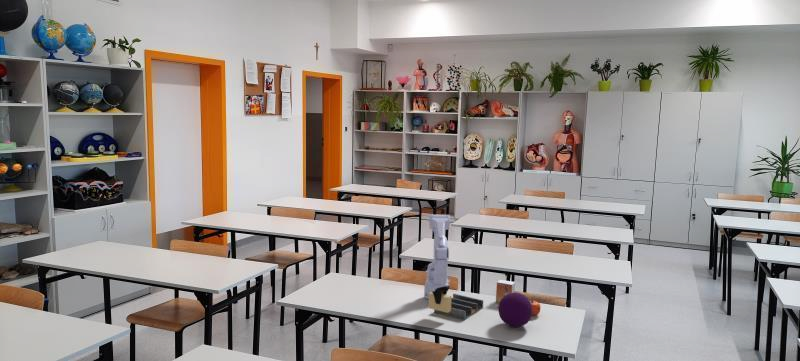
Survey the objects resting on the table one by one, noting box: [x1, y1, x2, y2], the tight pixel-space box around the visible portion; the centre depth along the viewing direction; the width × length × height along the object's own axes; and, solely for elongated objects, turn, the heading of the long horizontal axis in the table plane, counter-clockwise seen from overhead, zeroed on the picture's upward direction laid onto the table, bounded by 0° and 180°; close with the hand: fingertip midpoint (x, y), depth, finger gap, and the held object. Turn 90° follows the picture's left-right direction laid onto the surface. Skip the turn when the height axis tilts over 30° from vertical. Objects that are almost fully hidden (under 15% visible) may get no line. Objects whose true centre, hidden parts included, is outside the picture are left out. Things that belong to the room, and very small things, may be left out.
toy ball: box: [497, 291, 533, 328], centre depth 254 cm, size 15×15×15 cm
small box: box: [495, 279, 516, 304], centre depth 285 cm, size 8×6×10 cm
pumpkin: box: [530, 299, 541, 317], centre depth 269 cm, size 8×8×7 cm
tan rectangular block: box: [428, 292, 452, 313], centre depth 260 cm, size 10×3×7 cm, turn 56°
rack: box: [433, 293, 484, 321], centre depth 272 cm, size 16×19×4 cm
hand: (439, 302), depth 261 cm, fingers closed on tan rectangular block, 3 cm apart
